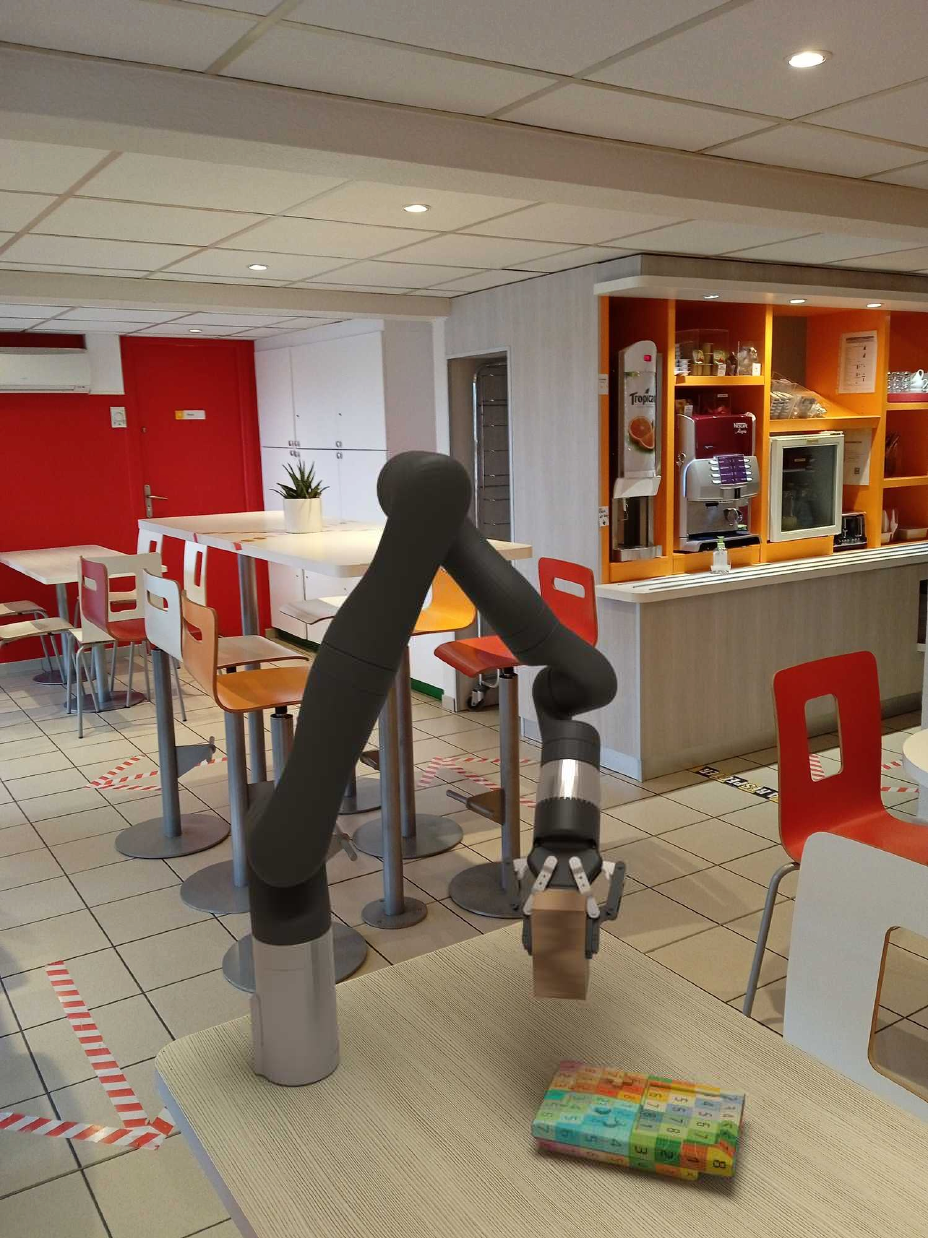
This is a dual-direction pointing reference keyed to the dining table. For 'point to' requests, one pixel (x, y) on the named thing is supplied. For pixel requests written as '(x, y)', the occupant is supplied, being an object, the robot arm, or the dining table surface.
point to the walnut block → (559, 944)
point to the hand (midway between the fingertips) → (560, 955)
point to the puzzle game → (640, 1121)
